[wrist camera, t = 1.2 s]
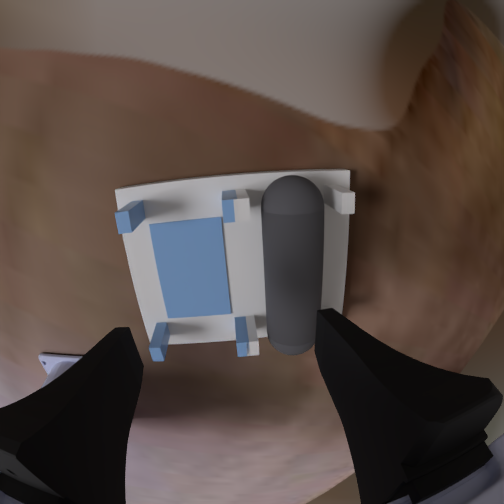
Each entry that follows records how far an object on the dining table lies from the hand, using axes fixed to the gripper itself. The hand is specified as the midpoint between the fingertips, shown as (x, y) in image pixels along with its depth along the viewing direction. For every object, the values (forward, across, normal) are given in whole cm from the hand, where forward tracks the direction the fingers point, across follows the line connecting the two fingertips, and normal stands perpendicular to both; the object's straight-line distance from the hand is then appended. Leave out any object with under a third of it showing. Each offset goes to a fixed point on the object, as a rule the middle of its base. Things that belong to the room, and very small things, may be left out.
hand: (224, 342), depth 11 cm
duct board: (+10, -1, +1) cm, 10 cm away
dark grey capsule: (+9, -4, +1) cm, 10 cm away
